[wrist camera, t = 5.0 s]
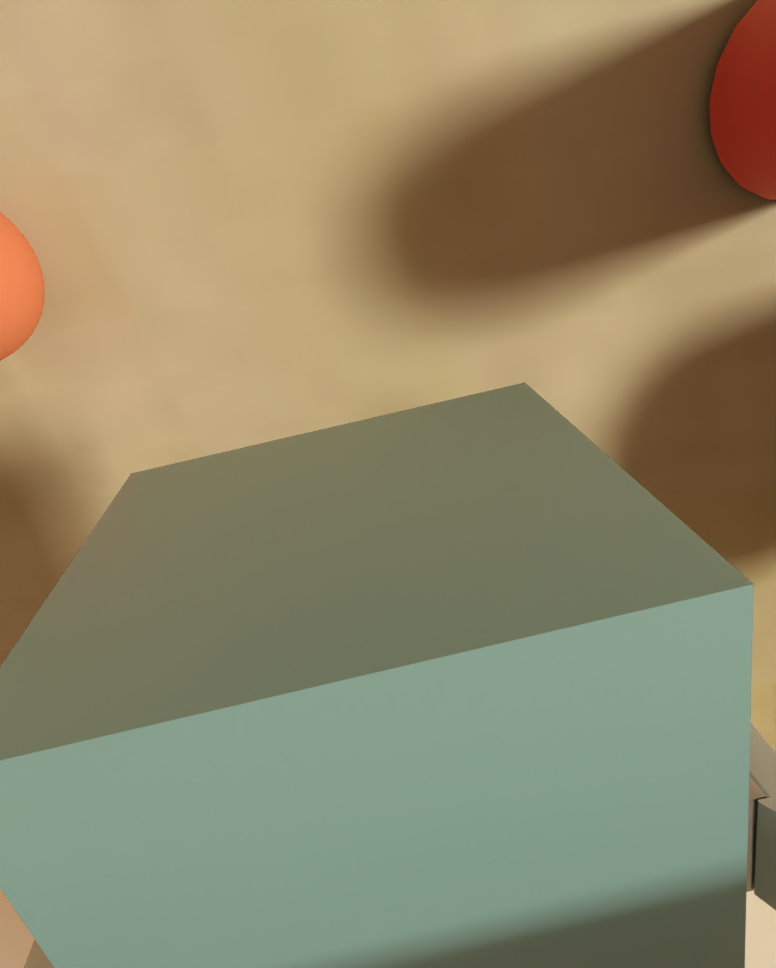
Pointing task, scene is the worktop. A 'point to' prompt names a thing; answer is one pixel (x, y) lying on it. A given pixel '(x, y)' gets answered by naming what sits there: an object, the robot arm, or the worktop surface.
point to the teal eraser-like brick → (385, 712)
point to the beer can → (748, 102)
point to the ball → (18, 289)
